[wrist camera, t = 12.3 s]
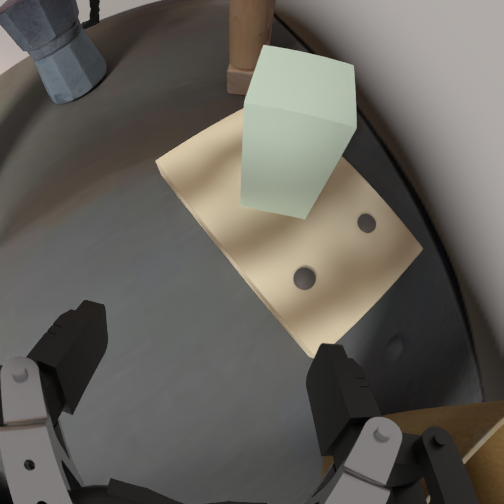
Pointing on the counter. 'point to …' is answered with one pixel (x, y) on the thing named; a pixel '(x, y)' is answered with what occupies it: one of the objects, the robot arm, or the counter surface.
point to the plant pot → (463, 442)
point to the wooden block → (247, 40)
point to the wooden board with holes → (294, 237)
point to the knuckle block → (294, 129)
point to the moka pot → (56, 44)
